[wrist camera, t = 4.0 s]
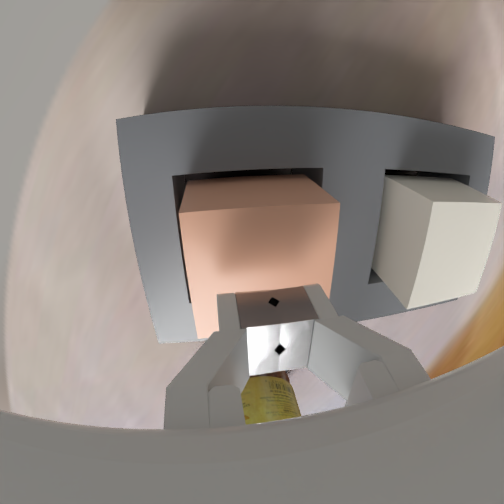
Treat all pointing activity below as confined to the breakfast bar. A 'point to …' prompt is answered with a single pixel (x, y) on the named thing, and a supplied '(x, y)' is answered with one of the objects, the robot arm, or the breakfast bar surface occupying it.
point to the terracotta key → (255, 238)
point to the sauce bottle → (269, 398)
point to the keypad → (302, 162)
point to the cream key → (433, 238)
